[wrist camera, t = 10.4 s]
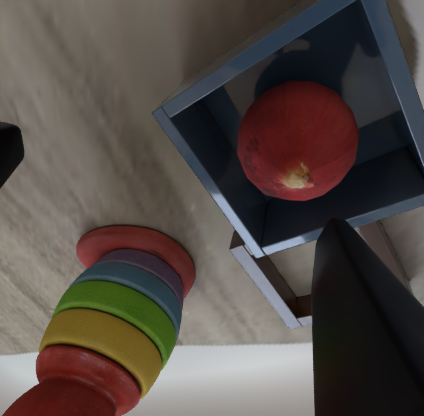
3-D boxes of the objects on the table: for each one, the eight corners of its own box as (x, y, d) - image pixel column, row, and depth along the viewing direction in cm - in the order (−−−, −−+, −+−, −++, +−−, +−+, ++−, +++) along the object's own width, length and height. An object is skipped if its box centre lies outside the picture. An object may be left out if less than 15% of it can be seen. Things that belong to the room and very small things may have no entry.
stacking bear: (72, 238, 31) (-116, 461, 17) (152, 203, 26) (-15, 469, 12) (141, 310, 36) (37, 534, 21) (220, 290, 31) (153, 560, 17)
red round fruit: (290, 176, 22) (286, 261, 16) (227, 116, 20) (194, 182, 14) (370, 116, 19) (405, 193, 12) (302, 39, 17) (302, 81, 11)
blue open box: (264, 207, 24) (256, 259, 20) (182, 82, 20) (150, 113, 16) (420, 146, 20) (453, 197, 15) (353, -35, 15) (373, -36, 11)
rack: (290, 308, 30) (289, 329, 29) (233, 231, 26) (228, 249, 25) (409, 282, 26) (417, 305, 24) (361, 183, 22) (367, 201, 20)
